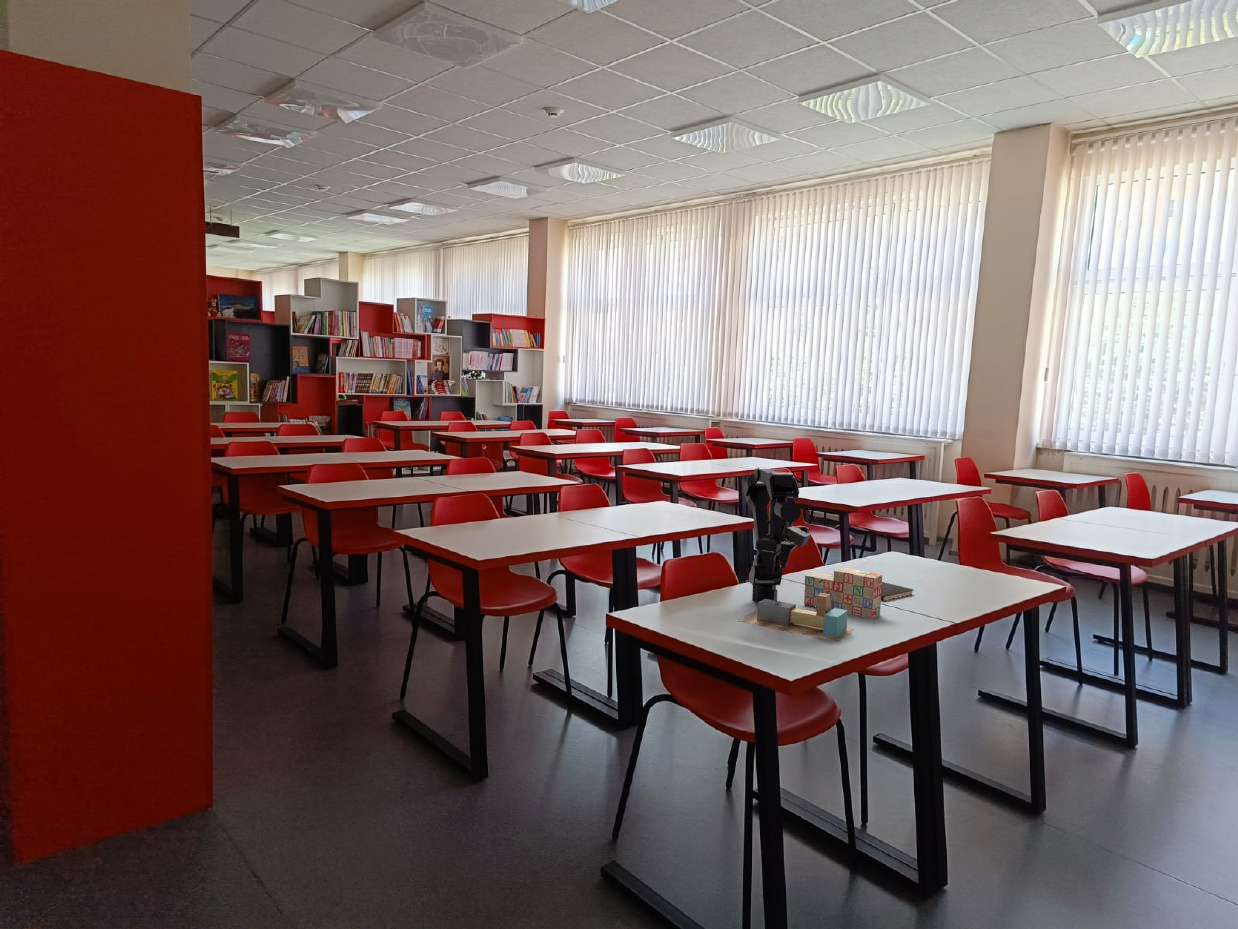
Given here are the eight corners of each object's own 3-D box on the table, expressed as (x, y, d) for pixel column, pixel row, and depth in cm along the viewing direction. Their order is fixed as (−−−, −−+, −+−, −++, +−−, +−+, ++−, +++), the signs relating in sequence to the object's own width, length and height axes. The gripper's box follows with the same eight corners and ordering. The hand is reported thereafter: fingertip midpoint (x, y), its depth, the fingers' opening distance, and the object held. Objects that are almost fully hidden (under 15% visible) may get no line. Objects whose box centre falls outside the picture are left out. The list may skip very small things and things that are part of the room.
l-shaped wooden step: (771, 618, 206) (772, 587, 205) (775, 616, 208) (777, 585, 208) (832, 630, 196) (833, 598, 196) (836, 627, 199) (837, 595, 198)
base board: (737, 624, 206) (737, 621, 206) (757, 614, 217) (757, 610, 217) (838, 645, 191) (838, 641, 190) (854, 632, 201) (854, 629, 201)
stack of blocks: (803, 605, 228) (804, 565, 227) (812, 601, 233) (814, 562, 232) (872, 620, 214) (874, 577, 213) (880, 615, 219) (883, 573, 218)
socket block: (823, 635, 195) (824, 614, 195) (833, 628, 202) (834, 608, 201) (836, 637, 193) (837, 617, 193) (846, 630, 200) (847, 610, 199)
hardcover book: (854, 581, 262) (854, 575, 262) (913, 596, 244) (914, 589, 243) (824, 587, 253) (824, 580, 253) (883, 603, 234) (883, 595, 234)
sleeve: (757, 620, 207) (757, 602, 207) (764, 616, 211) (765, 598, 211) (788, 626, 202) (788, 608, 202) (795, 622, 206) (795, 604, 206)
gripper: (794, 524, 201) (791, 581, 202) (818, 516, 216) (816, 569, 217) (755, 519, 207) (753, 575, 208) (782, 512, 222) (779, 564, 224)
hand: (777, 571), depth 214 cm, fingers open, 9 cm apart
